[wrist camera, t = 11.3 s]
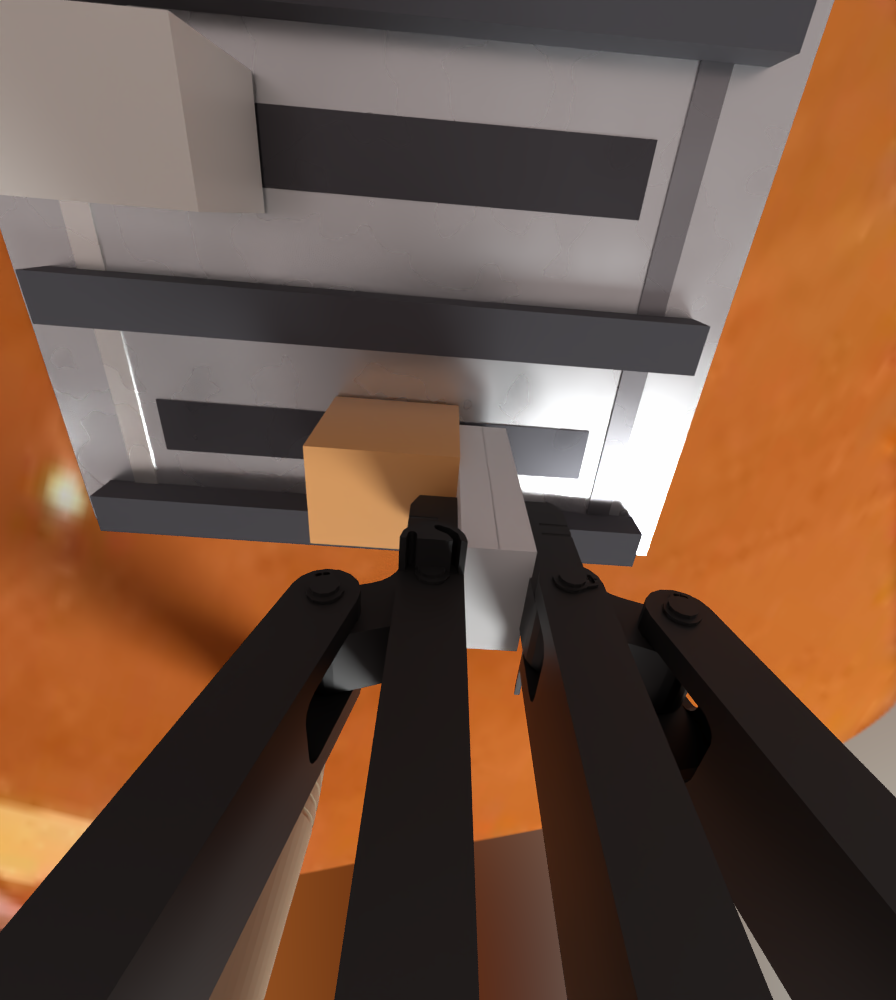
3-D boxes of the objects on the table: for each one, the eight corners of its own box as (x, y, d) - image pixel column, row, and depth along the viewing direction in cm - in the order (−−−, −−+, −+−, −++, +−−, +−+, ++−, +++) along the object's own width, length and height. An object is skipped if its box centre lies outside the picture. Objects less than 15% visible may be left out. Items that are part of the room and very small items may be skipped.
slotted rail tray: (120, 513, 18) (100, 530, 17) (-62, -100, 11) (-118, -134, 10) (622, 547, 19) (632, 566, 18) (794, -13, 11) (828, -36, 10)
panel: (119, 498, 20) (94, 518, 18) (-51, -76, 12) (-115, -114, 11) (633, 533, 20) (646, 556, 19) (798, 9, 12) (841, -16, 11)
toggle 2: (338, 478, 17) (310, 543, 14) (335, 396, 16) (302, 445, 12) (451, 486, 18) (450, 552, 14) (458, 405, 16) (460, 457, 13)
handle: (312, 651, 24) (146, 1162, 11) (371, 729, 27) (294, 1205, 14) (229, 676, 25) (-15, 1174, 12) (294, 749, 28) (155, 1212, 15)
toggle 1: (115, 200, 13) (-4, 194, 10) (83, 54, 12) (-72, -13, 8) (264, 213, 13) (198, 212, 10) (250, 70, 12) (167, 10, 8)
